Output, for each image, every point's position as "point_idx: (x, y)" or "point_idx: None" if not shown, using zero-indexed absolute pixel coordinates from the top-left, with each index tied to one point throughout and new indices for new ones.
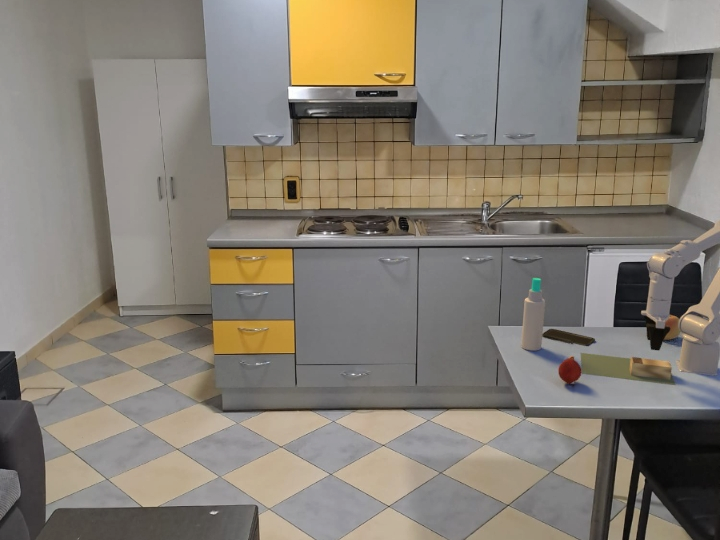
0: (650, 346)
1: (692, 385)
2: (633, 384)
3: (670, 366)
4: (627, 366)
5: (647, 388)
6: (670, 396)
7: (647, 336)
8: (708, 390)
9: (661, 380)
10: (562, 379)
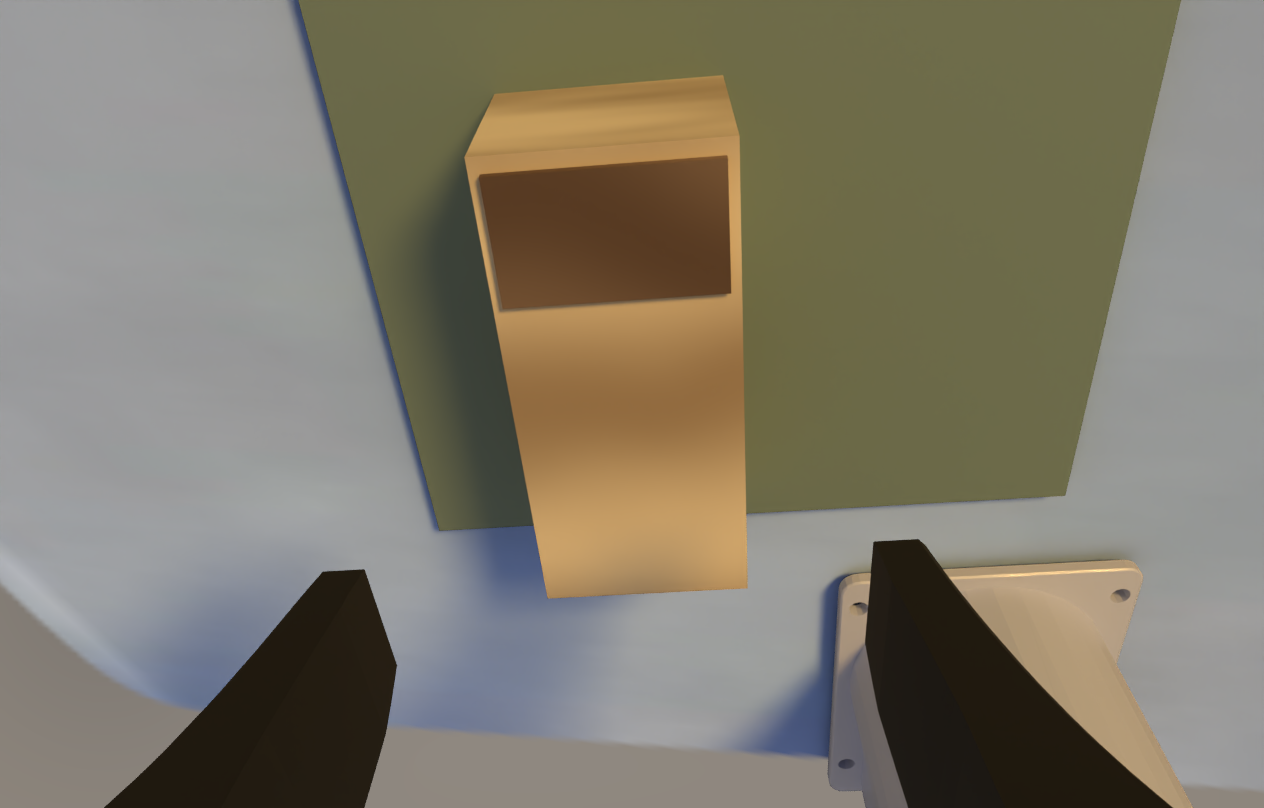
0: (309, 602)
1: (550, 630)
2: (231, 123)
3: (573, 589)
4: (808, 48)
5: (214, 277)
6: (156, 468)
7: (888, 586)
8: (499, 710)
9: (496, 422)
10: None
